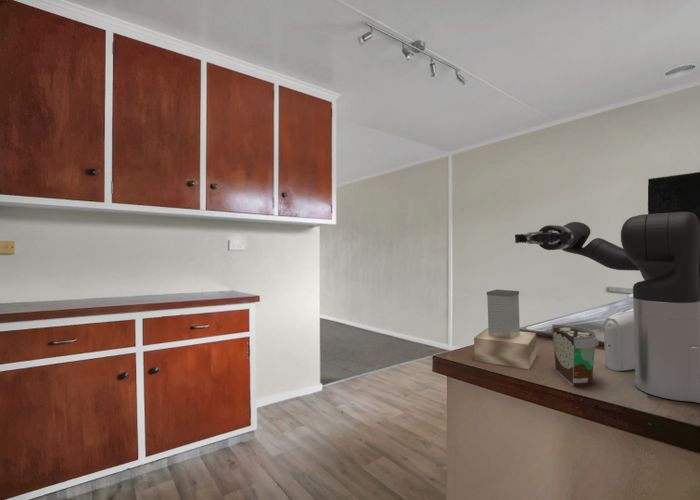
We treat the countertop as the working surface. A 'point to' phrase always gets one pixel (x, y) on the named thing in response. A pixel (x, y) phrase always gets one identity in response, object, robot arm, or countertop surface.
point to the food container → (574, 353)
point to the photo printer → (619, 341)
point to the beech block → (506, 349)
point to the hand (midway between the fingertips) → (532, 237)
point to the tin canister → (503, 313)
